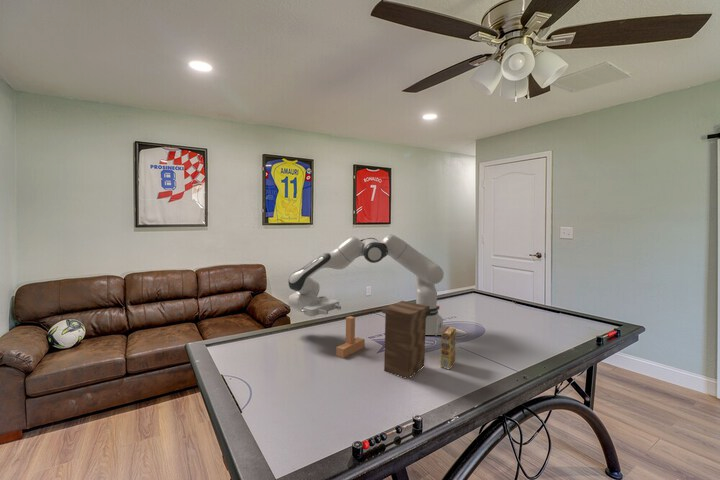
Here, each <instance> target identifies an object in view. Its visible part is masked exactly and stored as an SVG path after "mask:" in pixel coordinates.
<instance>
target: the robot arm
mask: <svg viewBox="0 0 720 480" xmlns="http://www.w3.org/2000/svg"><path fill="white" fill-rule="evenodd" d="M387 256H389V257H390V258H392V259H393V260H394V261H395V262H397V263H399V264H400V265H401V266H403V267H404V268H405V269H406V270H408V271H409V272H411V273H412V274H414V284H415V290H416V300H415V303H416V304H422V305H427V306H429V311H427V312H426V329H425V335H435V336H437V335H441V332H443V331H444V329H445V328H446V327H448V326H447V325H445V324H444V323H443V322H444V320H443V317H442V316H441V315H440V314H439V310H440V305H438V292H437V288H436V284H439V283H440V282H441V281H442V280H443V279H444V271H443V268H442V267H440V265H439V264H437V263H435V261H433V260H432V259H430V258H428V257H427V256H425V254H422V253H421V252H419V251H418V250H416V249H415V248H414V247H412V246H411V244H408V243H407V242H406V241H404V240H403V239H401V238H400V237H398V236H396V235H394V234H387V235H385V236H384V237H383V239H381V240H378V239H376V238H374V237H367V238H363V239H359V238H358V237H355V236H351V237H349V238H347V239H346V240H344V241H343V242H342V243H340V244H339V245H338V246H337V247H336V248H334V249H333V250H331V251H329V252H325V253H322V254H321V255H319V256H317V257H316V258H314V259H313V260H311V261H310V262H309V263H307V264H306V265H305V266H303V267H301V268H299V269H297V270H296V271H294V272H292V273H291V274H290V276H288V277H289V278H288V282H287V283H288V287H289V289H290V290H292V291H295V292H294V293H292V294H290V295H289V296H288V300H287V302H288V305H289V307H290V308H291V309H293V310H294V311H297V312H301V313H303V314H304V315H305V316H308V317H311V318H312V317H316V316H319V315H325V316H326V315H329V312H331V311H333V310H336V311H341V310H342V306H341V305H340V301H339V300H338V299H335V298H334V299H333V298H331V297H330V298H329V297H327V296H324V295H323V296H319V292H320V284H319V282H318V281H316V280H315V279H314V278H312V276H313V275H314V274H316V273H317V272H319V271H320V270H321V269H333V270H343V269H346V268H347V267H349V266H350V265H351V264H352V263H353V262H354V261H355V260H356V259H357V258H359V257H364V259H365V260H366V261H367V262H369V263H372V264H373V263H374V264H376V263H378V262H380V261H382V260H383V259H384V258H386V257H387Z"/></svg>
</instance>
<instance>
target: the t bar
mask: <svg viewBox="0 0 720 480" xmlns="http://www.w3.org/2000/svg"><path fill="white" fill-rule="evenodd" d="M355 337H356V317H355V316H351V315H349V316H346V317H345V343H342V344H340V345H338V346H336V348H335V349H336V353H335V354H336V355H335V356H336V357H339V358H342V359H344V358H346V357H348V356H350V355H352V354H354V353H356V352H358V351H360V350H361V349H364V348H365V345H366V344H365V343H366V341H365V338H363V337H362V338H361V337H359V336H358V337H356V338H355Z"/></svg>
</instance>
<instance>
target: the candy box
mask: <svg viewBox="0 0 720 480" xmlns="http://www.w3.org/2000/svg"><path fill="white" fill-rule="evenodd" d="M456 328H457V327H451V326H447V327H446V328H445V329H444V331H443V332H441V339H440V368H441V367H445V368H450V367H451V366H452V365H453V366H454V364H455V363H456V339H457V338H456V336H457V335H456V334H457V333H456V332H457V329H456ZM454 362H455V363H454ZM453 363H454V364H453ZM453 366H452V367H453ZM452 367H451V368H452ZM445 368H444V369H445ZM451 368H450V369H451Z"/></svg>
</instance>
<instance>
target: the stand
mask: <svg viewBox="0 0 720 480" xmlns="http://www.w3.org/2000/svg"><path fill="white" fill-rule="evenodd" d="M427 311H429V306H427V305H422V304H416V302H411V301H410V302H409V301H405V300H401V301H399V302H395V303H392V304H390V305H388V306H387V305H386V306H385V307H383V308H381V313H382V314H385V316H384V317H385V318H384V319H385V322H384V358H383V359H384V360H383V362H384V364H383V367H384V368H383V371H384V372H386V373H388V372H389V374H391V373H392V375H394V374H396V375H395V376H397V375H399V376H398V377H400V376H402V377H401V378H403V377H406V378H409V377H410V376H412V375H413V374H414V373H416V372H417V371H418V370H419V369H421V368H422V367H423V366H424V367H425V357H426V356H425V353H426V336H425V329H426V312H427ZM424 367H423V368H424ZM423 368H422V369H423ZM422 369H421V370H422ZM419 371H420V370H419ZM419 371H418V372H419ZM418 372H417V373H418ZM417 373H416V374H417ZM414 375H415V374H414ZM414 375H413V376H414ZM413 376H412V377H413ZM406 378H405V379H406ZM410 378H411V377H410ZM410 378H409V379H410Z"/></svg>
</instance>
